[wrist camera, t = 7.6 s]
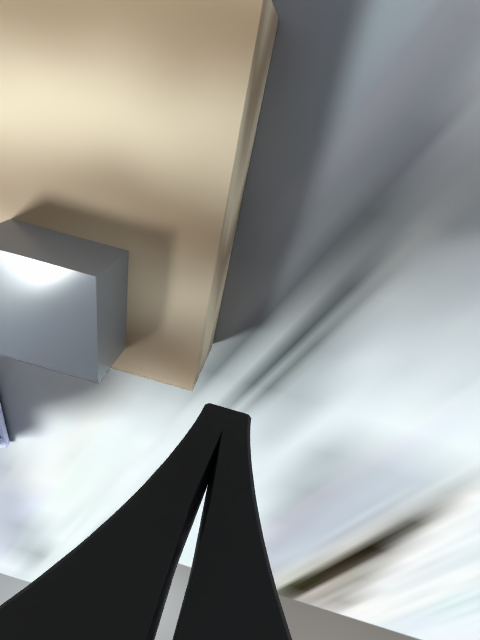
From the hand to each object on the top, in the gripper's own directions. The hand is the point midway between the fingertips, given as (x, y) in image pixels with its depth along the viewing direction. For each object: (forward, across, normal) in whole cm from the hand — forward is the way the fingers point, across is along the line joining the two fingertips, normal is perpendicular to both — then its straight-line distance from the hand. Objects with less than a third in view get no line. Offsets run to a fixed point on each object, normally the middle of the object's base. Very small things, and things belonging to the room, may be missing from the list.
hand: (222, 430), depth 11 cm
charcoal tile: (+5, +8, 0) cm, 9 cm away
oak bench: (+9, +11, -4) cm, 15 cm away
